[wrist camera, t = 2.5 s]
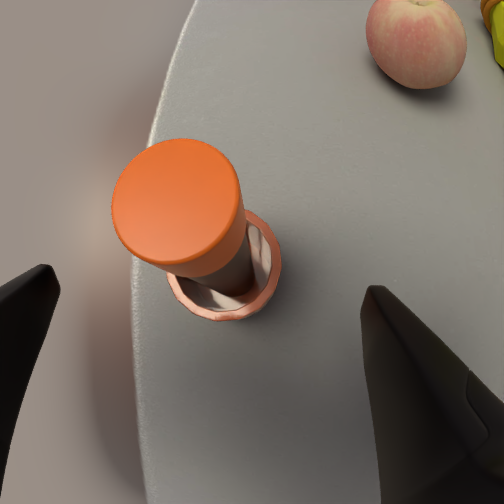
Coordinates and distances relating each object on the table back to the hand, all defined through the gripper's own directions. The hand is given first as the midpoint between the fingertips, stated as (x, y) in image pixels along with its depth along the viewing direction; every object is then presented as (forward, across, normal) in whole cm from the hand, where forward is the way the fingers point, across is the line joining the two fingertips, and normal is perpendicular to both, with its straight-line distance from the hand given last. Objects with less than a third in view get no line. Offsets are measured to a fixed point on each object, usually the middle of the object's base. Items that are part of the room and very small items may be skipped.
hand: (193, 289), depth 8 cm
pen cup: (+8, 0, +6) cm, 10 cm away
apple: (+20, -12, -6) cm, 25 cm away
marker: (+8, 0, +6) cm, 10 cm away
